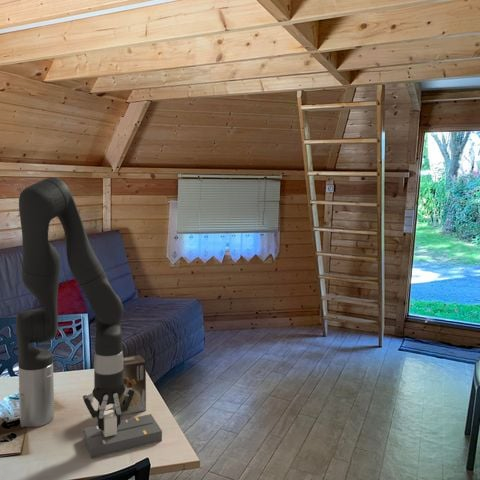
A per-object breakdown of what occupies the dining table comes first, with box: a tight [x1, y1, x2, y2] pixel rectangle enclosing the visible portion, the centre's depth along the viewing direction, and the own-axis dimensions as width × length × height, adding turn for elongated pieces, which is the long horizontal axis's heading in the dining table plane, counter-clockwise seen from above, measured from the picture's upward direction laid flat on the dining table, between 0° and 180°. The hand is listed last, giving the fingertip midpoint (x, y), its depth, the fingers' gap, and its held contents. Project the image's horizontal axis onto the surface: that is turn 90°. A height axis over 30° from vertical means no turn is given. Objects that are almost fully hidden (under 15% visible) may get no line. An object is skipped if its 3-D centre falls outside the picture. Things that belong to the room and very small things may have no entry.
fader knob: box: [102, 409, 117, 437], centre depth 127 cm, size 3×4×5 cm
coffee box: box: [112, 354, 147, 416], centre depth 145 cm, size 9×6×16 cm
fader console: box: [83, 413, 163, 460], centre depth 129 cm, size 19×10×3 cm, turn 118°
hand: (109, 427), depth 127 cm, fingers closed on fader knob, 3 cm apart
